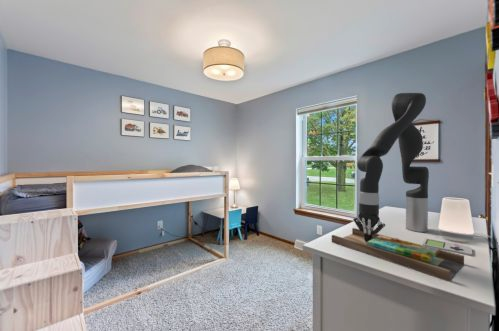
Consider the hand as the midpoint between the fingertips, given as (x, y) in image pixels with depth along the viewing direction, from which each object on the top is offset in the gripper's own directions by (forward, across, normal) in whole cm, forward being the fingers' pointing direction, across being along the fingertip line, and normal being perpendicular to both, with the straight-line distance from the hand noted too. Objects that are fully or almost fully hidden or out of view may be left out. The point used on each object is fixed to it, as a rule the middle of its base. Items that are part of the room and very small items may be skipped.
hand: (368, 242), depth 94 cm
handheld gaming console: (+2, -20, -24) cm, 32 cm away
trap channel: (+1, -8, 0) cm, 8 cm away
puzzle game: (+1, -13, 0) cm, 13 cm away
